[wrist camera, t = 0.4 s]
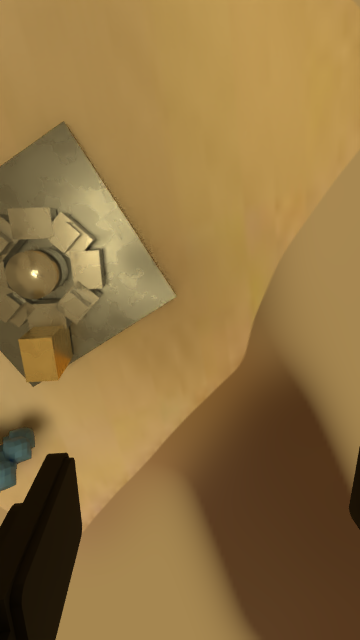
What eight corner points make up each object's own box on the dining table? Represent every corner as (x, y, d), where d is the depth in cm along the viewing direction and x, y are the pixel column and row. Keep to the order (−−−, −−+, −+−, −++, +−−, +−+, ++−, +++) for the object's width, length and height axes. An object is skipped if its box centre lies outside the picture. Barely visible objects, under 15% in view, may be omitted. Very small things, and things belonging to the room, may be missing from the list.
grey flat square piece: (-93, 237, 32) (-142, 240, 26) (66, 124, 30) (47, 102, 25) (36, 382, 37) (17, 408, 32) (175, 294, 36) (179, 306, 30)
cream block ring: (-27, 210, 30) (-67, 207, 25) (97, 207, 31) (85, 203, 26) (5, 360, 35) (-23, 385, 29) (112, 354, 36) (105, 376, 30)
